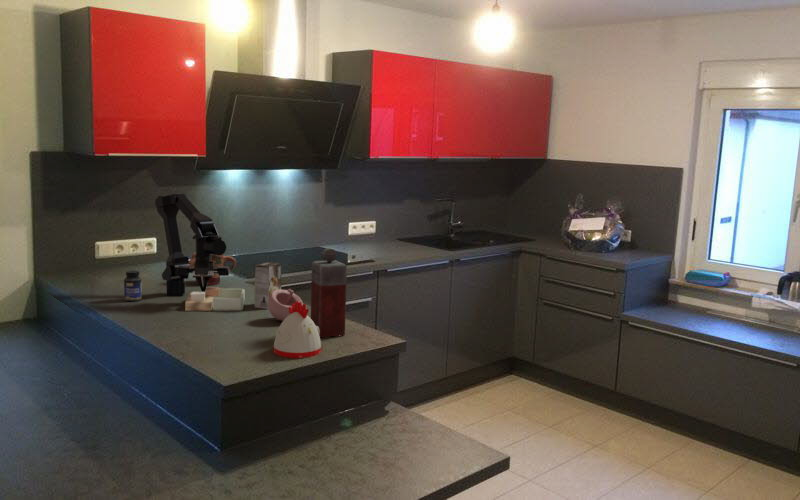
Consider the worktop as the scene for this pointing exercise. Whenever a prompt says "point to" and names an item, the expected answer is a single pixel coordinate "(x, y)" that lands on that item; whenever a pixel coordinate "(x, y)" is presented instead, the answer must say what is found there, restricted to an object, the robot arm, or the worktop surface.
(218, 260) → the decorative planter
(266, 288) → the coffee box
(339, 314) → the red square decanter
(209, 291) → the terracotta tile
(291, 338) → the kitchen timer
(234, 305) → the tray
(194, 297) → the offwhite tile
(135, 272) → the pill bottle
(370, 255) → the worktop surface
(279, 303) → the mortar and pestle
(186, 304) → the oak board
